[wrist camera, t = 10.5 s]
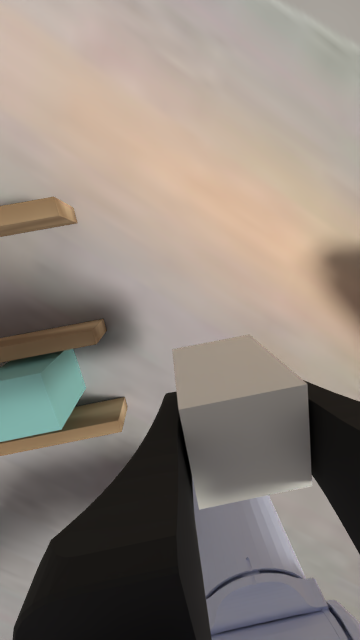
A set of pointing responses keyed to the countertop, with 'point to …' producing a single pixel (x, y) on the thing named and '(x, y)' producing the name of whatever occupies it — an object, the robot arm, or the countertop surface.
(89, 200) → the countertop surface
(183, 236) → the countertop surface
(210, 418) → the white rectangular block
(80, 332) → the rack
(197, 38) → the countertop surface
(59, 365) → the teal plug block
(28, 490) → the countertop surface
